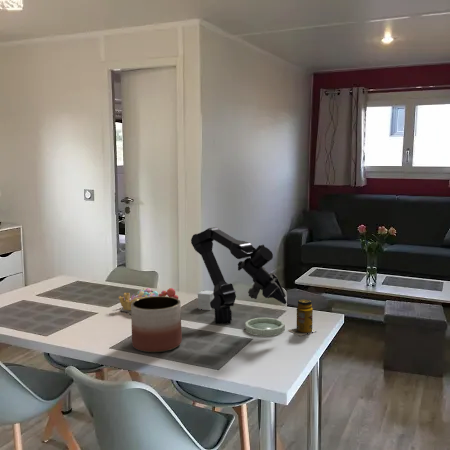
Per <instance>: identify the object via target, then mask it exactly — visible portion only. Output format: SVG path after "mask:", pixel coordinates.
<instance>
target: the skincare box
mask: <svg viewBox="0 0 450 450" xmlns="http://www.w3.org/2000/svg"><path fill="white" fill-rule="evenodd" d="M213 291H214V290H201V291H200V292H198V293H197V309H198V310H201V309H202V310H204V311H212V310H213V309H212V308H211V306H210V302H211V301H212V300H213V299H214V295H213Z"/></svg>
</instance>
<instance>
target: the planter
mask: <svg viewBox="0 0 450 450" xmlns="http://www.w3.org/2000/svg"><path fill="white" fill-rule="evenodd" d="M130 316H131V344H132V347H134V349H136V350H137V351H140V352H144V353H164V352H168V351H172V350H174V349H176V348H177V347H179V346H180V345H181V344H182V340H183V339H182V337H183V336H182V335H183V334H182V311H181V300H180V299H179V298H178V299H176V298H173V297H169V296H167V295H166V296H154V297H146V298H141V299H138V300H135V301H133V302H132V303H131V314H130Z"/></svg>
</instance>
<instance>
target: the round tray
mask: <svg viewBox="0 0 450 450" xmlns="http://www.w3.org/2000/svg"><path fill="white" fill-rule="evenodd" d="M244 328H245V331H246V333H249V334H250V335H254V336H255V335H256V336H261V337H266V336H267V337H268V336H276V335H280V334H282V333H284V331H285V330H286V325H285V322H284V321H283V320H280V319H278V318H275V317H274V318H273V317H256V318H251V319H249V320H246V321H245V325H244Z"/></svg>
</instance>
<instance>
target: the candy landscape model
mask: <svg viewBox="0 0 450 450" xmlns="http://www.w3.org/2000/svg"><path fill="white" fill-rule="evenodd" d="M154 296H166V297H173V298H176V299H178V300H179V296H178V295H177V294H176V290H175V289H174V288H173V287H171V288H168V289H167V290H162V291H161V293H158V291H156V290H152V289H151V288H149V287H147V288H145V287H143V288H142V289H141V290H138V291H137V295H135V293H133V295H132V294H131V293H130V292H124V293H123V296H122V295H119V296H118V299H119V303H120V306H121V307H122V308H120V309H121V310H120V312H125V313H128V314H129V315H131V303H132V302H133V301H135V300H138V299H141V298H146V297H154Z"/></svg>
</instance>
